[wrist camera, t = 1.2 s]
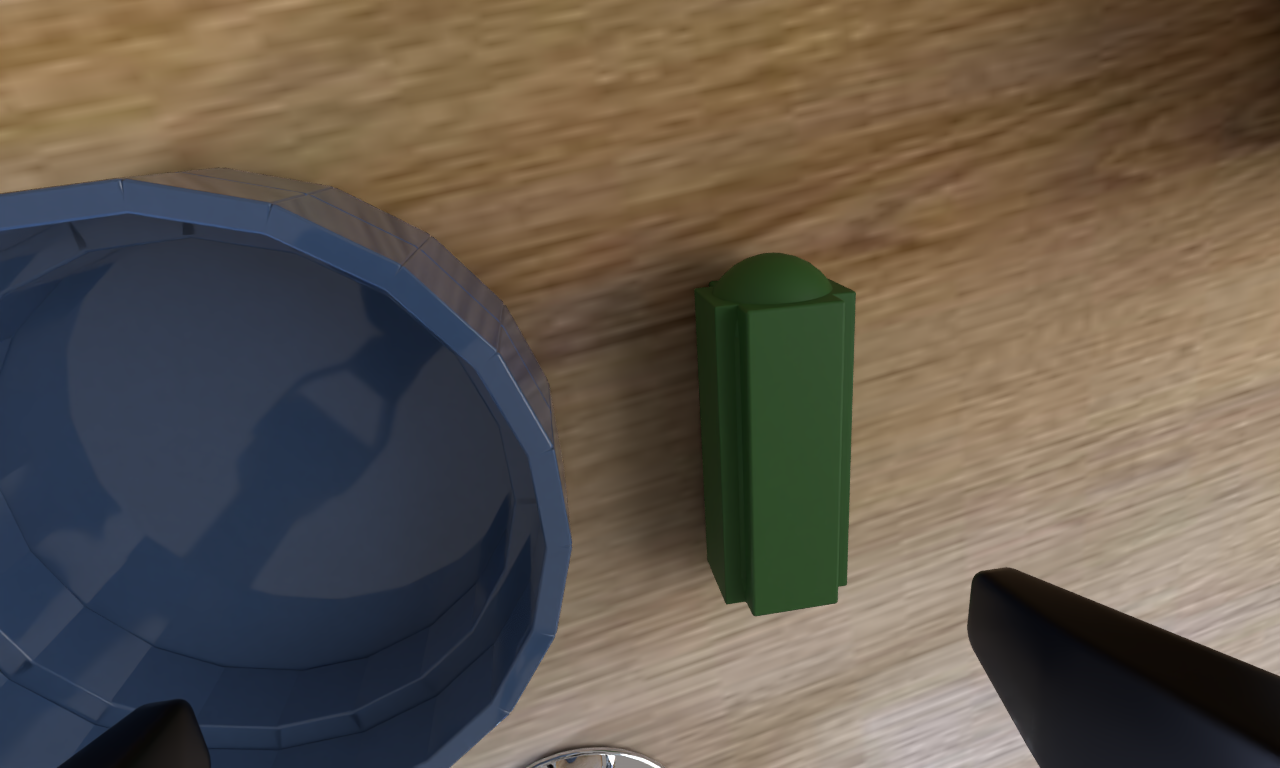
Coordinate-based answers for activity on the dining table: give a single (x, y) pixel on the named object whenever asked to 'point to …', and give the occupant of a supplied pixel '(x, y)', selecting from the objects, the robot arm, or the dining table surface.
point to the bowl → (265, 477)
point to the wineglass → (596, 759)
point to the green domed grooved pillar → (776, 431)
